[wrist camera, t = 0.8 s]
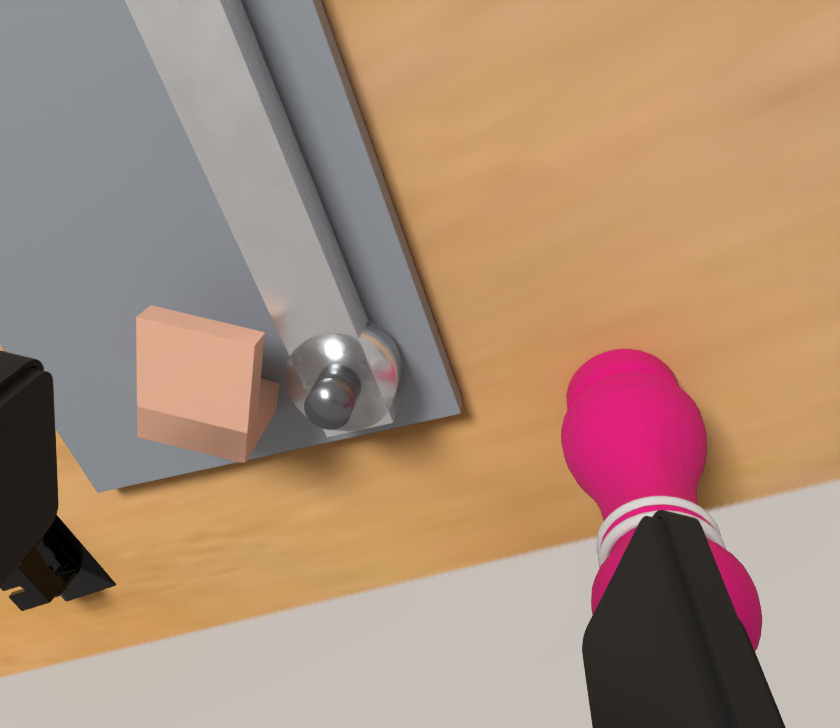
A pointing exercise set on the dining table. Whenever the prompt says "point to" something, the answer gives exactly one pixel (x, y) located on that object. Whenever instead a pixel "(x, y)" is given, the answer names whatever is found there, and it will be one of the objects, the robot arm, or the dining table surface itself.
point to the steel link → (272, 210)
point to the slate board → (174, 225)
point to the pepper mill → (643, 462)
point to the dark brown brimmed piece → (56, 570)
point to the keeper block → (201, 384)
